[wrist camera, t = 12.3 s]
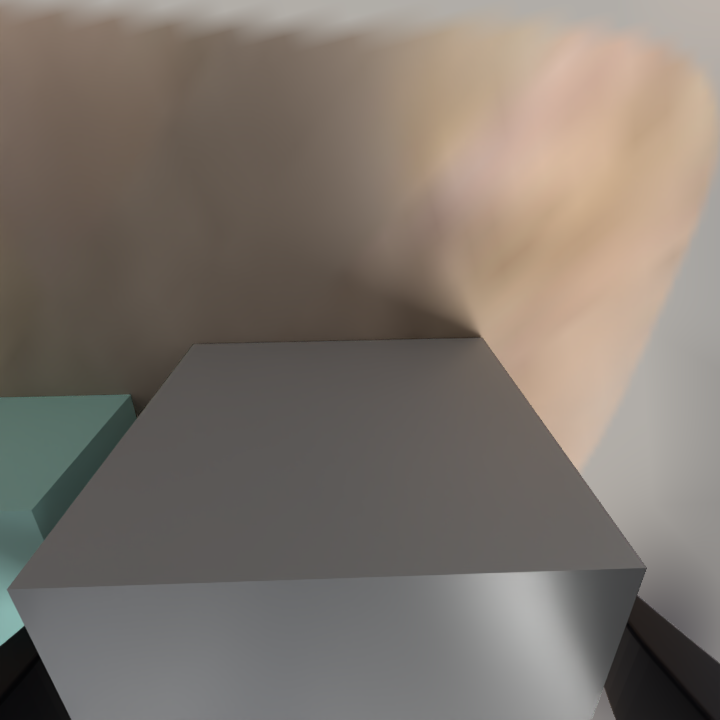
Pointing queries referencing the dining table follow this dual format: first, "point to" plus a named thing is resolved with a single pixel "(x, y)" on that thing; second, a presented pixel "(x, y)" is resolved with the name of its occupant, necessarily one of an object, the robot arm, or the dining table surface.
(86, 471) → the cube
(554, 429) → the dining table surface
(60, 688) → the grey arch block
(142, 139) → the dining table surface
